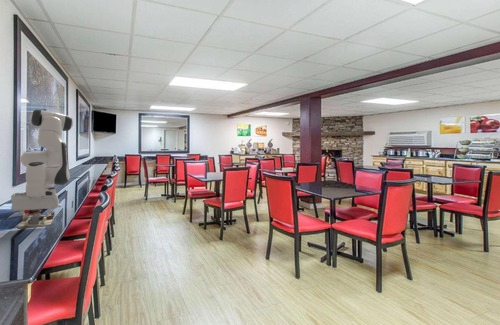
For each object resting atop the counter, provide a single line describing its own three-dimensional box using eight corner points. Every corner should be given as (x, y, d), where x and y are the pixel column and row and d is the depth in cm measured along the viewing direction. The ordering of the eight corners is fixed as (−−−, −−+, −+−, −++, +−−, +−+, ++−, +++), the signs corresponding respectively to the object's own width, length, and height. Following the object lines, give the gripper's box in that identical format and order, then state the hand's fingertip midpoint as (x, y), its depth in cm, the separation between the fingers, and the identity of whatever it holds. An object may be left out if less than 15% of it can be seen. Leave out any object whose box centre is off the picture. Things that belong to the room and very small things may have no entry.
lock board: (26, 218, 162) (26, 212, 162) (55, 216, 170) (55, 210, 169) (17, 229, 142) (17, 222, 142) (50, 226, 149) (50, 219, 149)
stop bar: (38, 224, 147) (38, 217, 147) (31, 225, 146) (31, 217, 145) (41, 220, 156) (41, 212, 156) (34, 220, 154) (34, 213, 154)
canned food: (31, 216, 166) (31, 198, 166) (20, 215, 168) (20, 197, 167) (43, 213, 174) (43, 196, 173) (32, 212, 175) (32, 195, 175)
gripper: (9, 194, 141) (9, 220, 142) (58, 192, 152) (58, 217, 152) (12, 192, 147) (12, 217, 147) (59, 190, 157) (59, 214, 158)
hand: (36, 217), depth 150 cm, fingers open, 8 cm apart
